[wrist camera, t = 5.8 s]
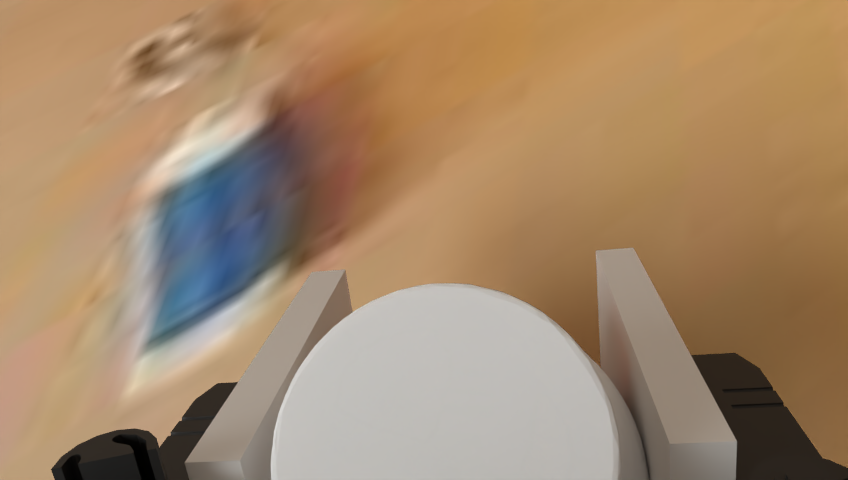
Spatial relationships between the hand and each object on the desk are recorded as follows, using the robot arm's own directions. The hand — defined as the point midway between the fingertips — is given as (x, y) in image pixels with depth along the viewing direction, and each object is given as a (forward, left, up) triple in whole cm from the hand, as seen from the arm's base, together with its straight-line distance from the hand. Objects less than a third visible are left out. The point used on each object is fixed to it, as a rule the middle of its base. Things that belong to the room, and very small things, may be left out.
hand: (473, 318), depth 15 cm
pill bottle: (0, +4, -4) cm, 5 cm away
